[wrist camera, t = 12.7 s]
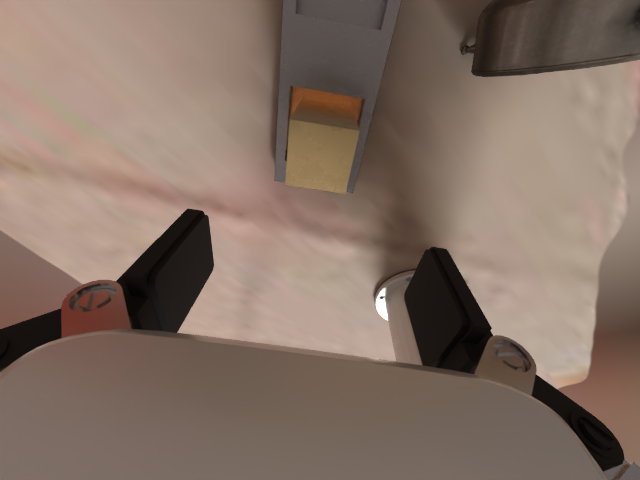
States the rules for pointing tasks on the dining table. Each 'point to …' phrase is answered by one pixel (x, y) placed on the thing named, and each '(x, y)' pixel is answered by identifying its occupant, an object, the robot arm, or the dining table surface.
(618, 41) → the alarm clock
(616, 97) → the dining table surface
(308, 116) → the brushed gold block
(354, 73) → the divided tray
